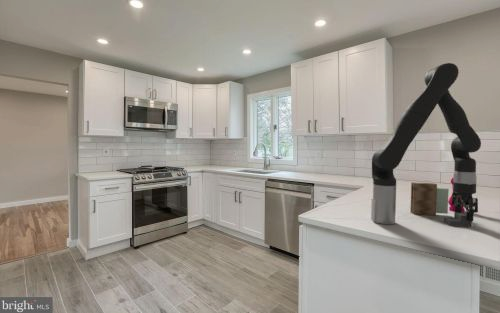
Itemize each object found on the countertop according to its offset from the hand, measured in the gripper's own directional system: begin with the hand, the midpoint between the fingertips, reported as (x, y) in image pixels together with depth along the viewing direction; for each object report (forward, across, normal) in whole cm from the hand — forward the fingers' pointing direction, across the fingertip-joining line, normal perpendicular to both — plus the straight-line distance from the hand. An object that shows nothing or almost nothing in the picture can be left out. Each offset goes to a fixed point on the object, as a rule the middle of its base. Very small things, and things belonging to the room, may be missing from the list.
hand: (463, 218), depth 106 cm
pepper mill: (+3, -26, +10) cm, 28 cm away
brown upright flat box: (+3, -15, -10) cm, 18 cm away
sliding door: (+3, -15, -6) cm, 16 cm away
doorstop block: (+3, 0, -2) cm, 4 cm away
